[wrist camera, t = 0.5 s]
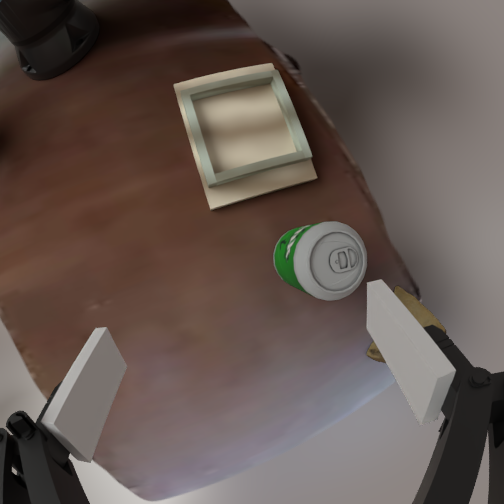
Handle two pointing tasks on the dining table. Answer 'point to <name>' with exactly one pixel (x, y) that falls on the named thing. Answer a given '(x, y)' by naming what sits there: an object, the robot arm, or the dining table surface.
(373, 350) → the rock
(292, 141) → the stand
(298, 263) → the soda can
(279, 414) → the dining table surface
